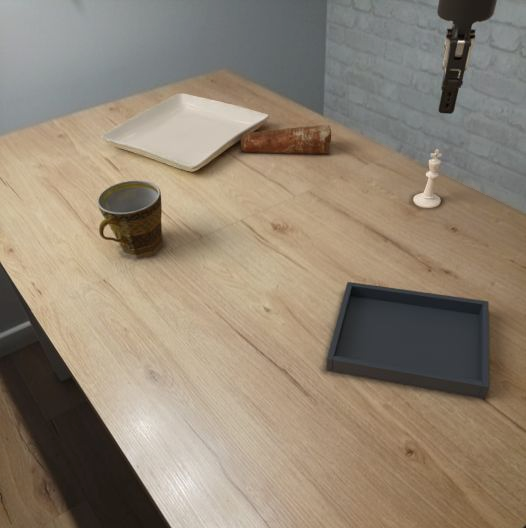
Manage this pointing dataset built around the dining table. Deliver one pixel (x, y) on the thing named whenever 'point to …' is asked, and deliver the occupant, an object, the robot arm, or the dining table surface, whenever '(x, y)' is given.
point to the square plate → (185, 130)
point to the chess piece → (430, 185)
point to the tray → (412, 339)
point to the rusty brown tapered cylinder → (288, 140)
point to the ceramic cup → (133, 217)
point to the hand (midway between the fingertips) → (446, 101)
